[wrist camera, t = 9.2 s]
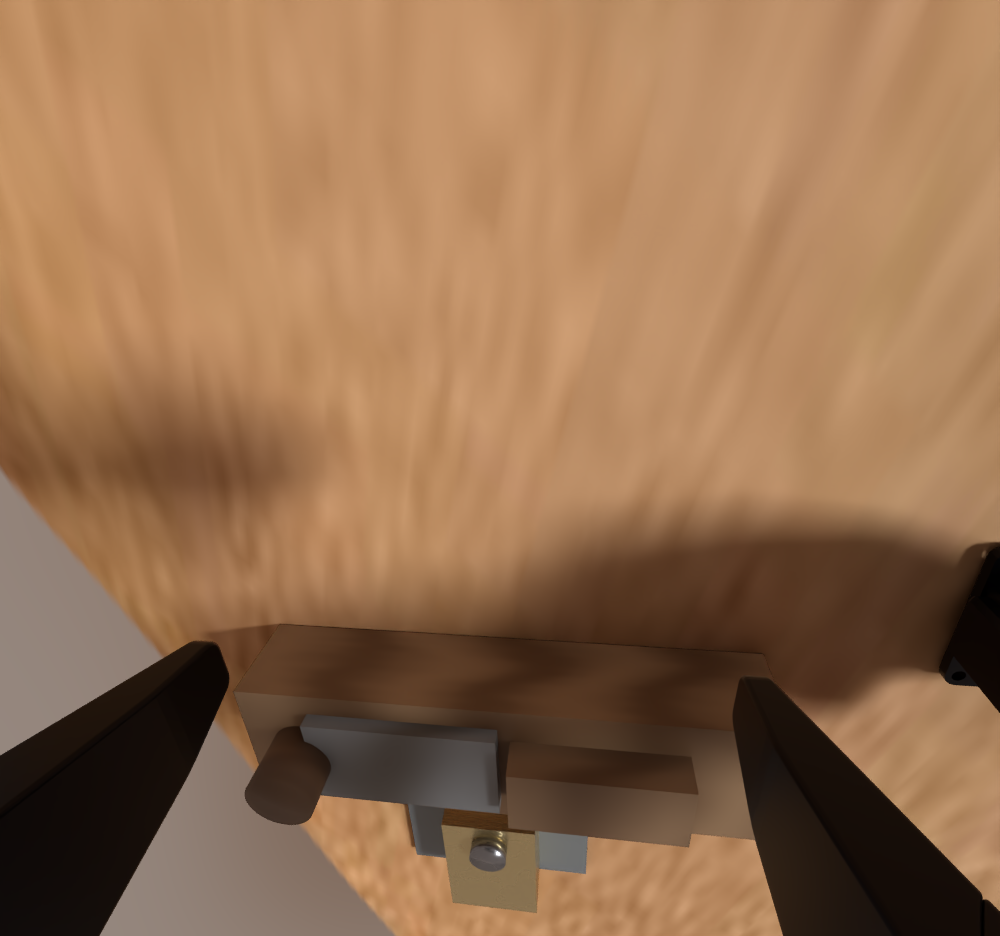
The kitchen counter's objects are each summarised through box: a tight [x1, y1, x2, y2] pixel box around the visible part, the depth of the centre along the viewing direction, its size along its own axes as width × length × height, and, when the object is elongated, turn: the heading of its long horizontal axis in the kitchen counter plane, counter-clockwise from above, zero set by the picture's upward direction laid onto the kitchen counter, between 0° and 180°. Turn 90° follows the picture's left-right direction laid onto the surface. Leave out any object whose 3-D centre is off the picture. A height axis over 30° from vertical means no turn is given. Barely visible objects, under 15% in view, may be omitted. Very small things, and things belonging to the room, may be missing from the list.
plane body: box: [233, 624, 774, 847], centre depth 23 cm, size 22×6×6 cm, turn 92°
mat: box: [408, 804, 588, 874], centre depth 31 cm, size 10×8×1 cm
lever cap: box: [441, 808, 540, 913], centre depth 29 cm, size 7×5×3 cm, turn 2°
